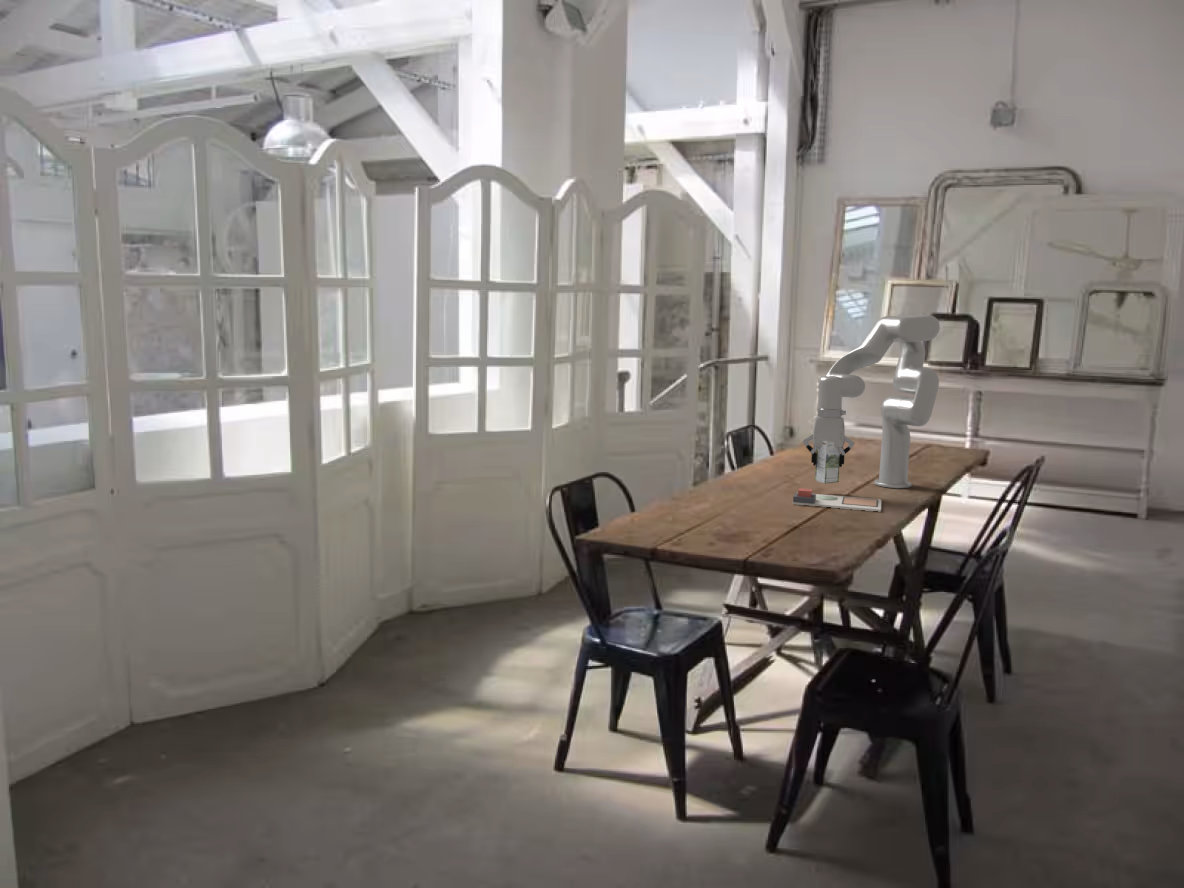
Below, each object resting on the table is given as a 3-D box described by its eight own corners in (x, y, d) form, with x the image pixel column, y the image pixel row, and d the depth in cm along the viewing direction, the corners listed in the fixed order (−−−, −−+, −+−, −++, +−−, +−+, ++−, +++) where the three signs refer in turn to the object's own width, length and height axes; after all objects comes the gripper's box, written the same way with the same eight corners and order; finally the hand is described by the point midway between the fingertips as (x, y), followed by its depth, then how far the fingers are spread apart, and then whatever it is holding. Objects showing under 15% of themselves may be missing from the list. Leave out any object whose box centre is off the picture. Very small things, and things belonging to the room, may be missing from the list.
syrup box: (829, 479, 332) (830, 437, 329) (839, 482, 326) (841, 439, 324) (814, 480, 330) (816, 438, 327) (824, 484, 324) (826, 441, 322)
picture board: (796, 494, 326) (797, 487, 325) (881, 501, 318) (881, 493, 318) (792, 504, 311) (792, 496, 310) (880, 512, 303) (881, 503, 303)
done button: (799, 494, 315) (799, 488, 315) (811, 495, 314) (812, 489, 314) (797, 496, 311) (798, 490, 311) (810, 497, 310) (811, 491, 310)
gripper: (857, 413, 325) (854, 464, 328) (803, 411, 330) (802, 462, 333) (856, 416, 318) (854, 469, 321) (801, 414, 323) (800, 466, 326)
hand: (827, 465), depth 327 cm, fingers closed on syrup box, 8 cm apart
